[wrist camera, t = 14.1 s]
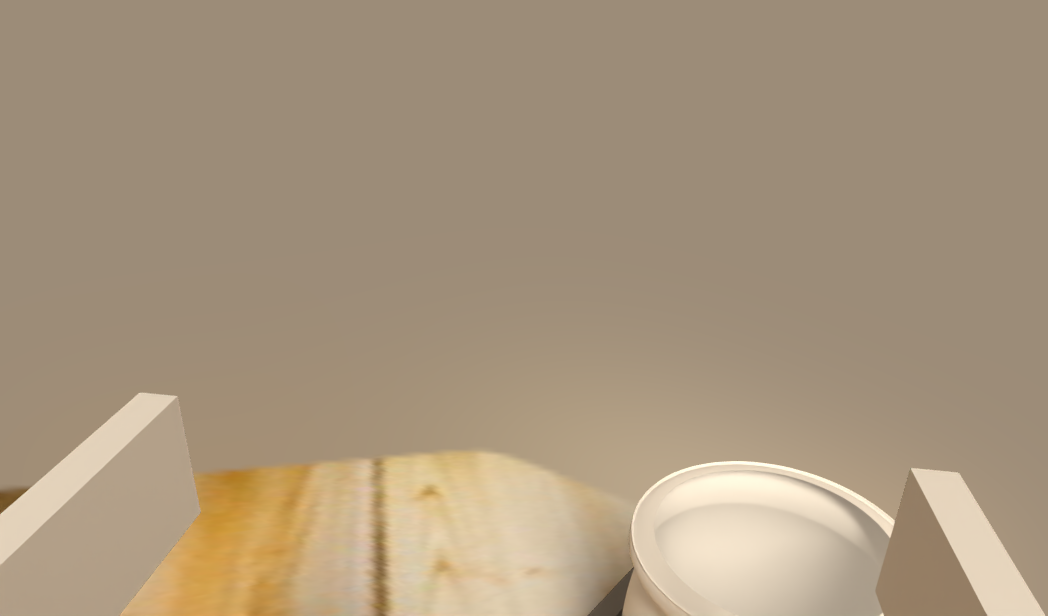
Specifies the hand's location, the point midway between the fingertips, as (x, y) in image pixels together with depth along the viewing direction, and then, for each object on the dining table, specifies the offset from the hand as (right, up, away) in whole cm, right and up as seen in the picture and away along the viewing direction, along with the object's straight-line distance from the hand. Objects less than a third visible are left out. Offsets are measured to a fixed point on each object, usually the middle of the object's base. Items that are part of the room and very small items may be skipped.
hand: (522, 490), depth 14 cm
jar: (+9, -19, +21) cm, 30 cm away
